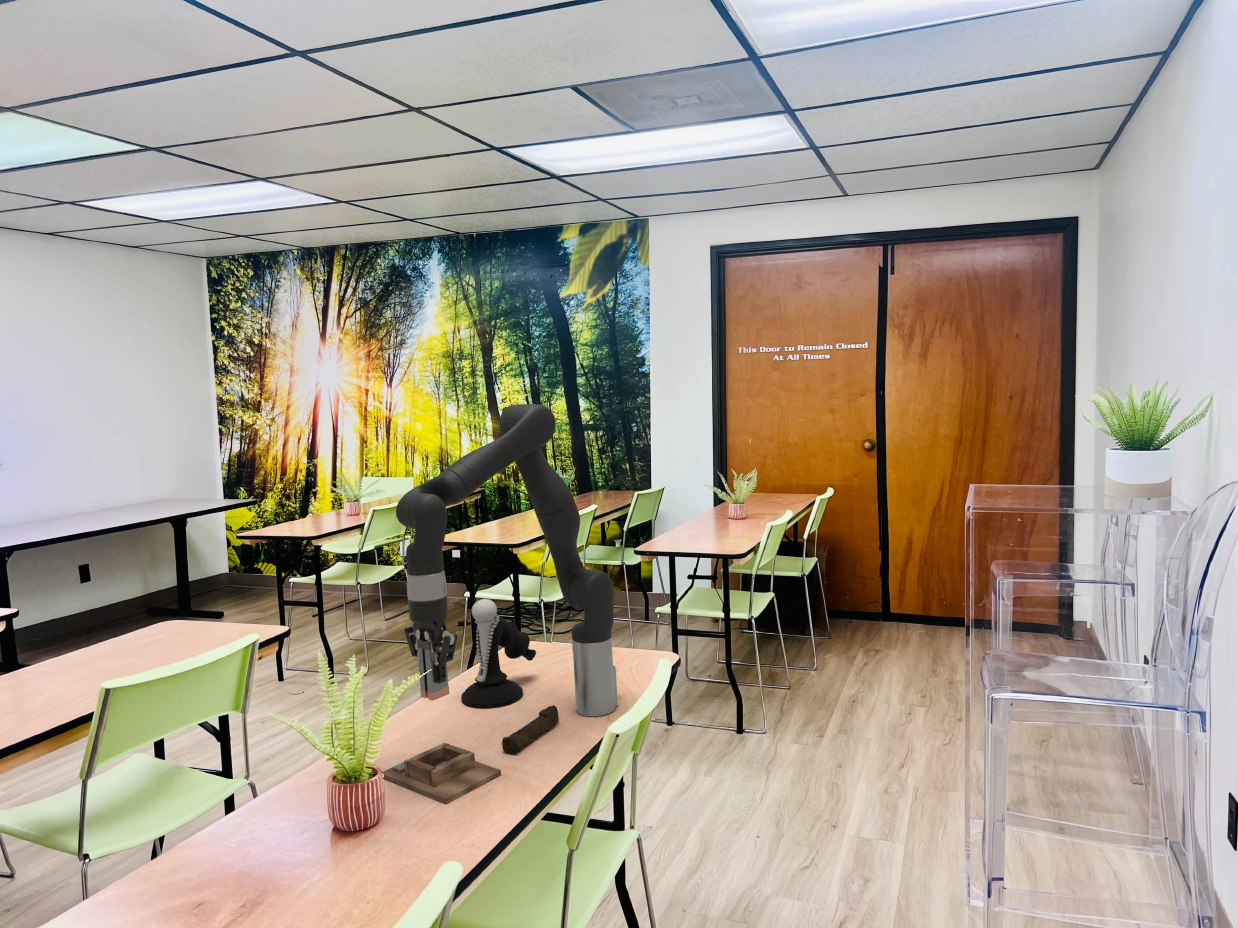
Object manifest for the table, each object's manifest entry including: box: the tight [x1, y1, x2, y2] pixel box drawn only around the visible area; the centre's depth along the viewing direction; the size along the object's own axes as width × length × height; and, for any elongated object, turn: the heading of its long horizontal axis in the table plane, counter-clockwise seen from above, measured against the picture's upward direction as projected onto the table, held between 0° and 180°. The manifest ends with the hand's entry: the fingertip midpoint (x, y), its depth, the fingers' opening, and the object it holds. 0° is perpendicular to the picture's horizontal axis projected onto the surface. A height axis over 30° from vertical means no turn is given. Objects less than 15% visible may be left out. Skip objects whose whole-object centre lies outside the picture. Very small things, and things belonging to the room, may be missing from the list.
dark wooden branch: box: [501, 704, 560, 756], centre depth 186 cm, size 19×4×5 cm, turn 149°
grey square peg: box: [417, 639, 450, 701], centre depth 167 cm, size 4×4×13 cm
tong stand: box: [381, 742, 502, 805], centre depth 169 cm, size 14×20×4 cm
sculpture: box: [460, 598, 537, 710], centre depth 214 cm, size 15×24×25 cm, turn 147°
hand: (433, 679), depth 168 cm, fingers closed on grey square peg, 3 cm apart
